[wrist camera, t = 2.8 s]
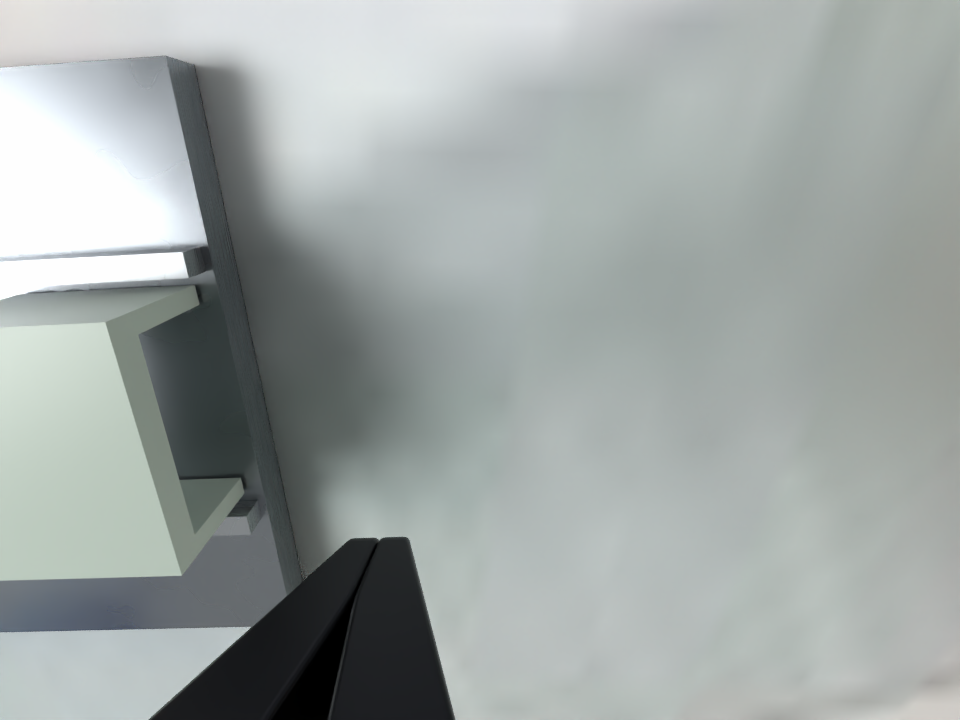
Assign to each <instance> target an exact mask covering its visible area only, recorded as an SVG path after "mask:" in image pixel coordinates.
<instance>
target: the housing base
mask: <svg viewBox="0 0 960 720" xmlns="http://www.w3.org/2000/svg"><path fill="white" fill-rule="evenodd" d="M185 285H195V288H196V292H197V296H198V300H199V305H198V306H196V307H194V308H192V309H190V310H188V311H186V312H184V313H182V314H180V315H177V316H175V317H173V318H171V319H169V320H167V321H165V322H163V323H161V324H159V325H157V326H155V327H153V328H151V329H149V330H147V331H145V332H143V333H141V334H139V335H138V336H139V340H140V343H141V347H142V350H143V354H144V357H145V361H146V364H147V368H148V371H149V375H150V378H151V382H152V385H153V389H154V393H155V396H156V400H157V403H158V407H159V410H160V414H161V417H162V421H163V424H164V428H165V431H166V435H167V438H168V442H169V445H170V449H171V452H172V456H173V460H174V463H175V467H176V470H177V474H178V477H179V480H191V479H219V478H241V481H242V485H243V489H244V494H243V496H242V497H241V498H240V500H239V501H238V502H237V503H236V505H235V506H234V507H233V509H232V510H231V511H230V513H229V514H228V515H227V517H226V518H225V519H224V521H223V522H222V523H221V525H220V526H219V527H218V529H217V530H216V531H215V533H214V534H213V535H212V537H211V538H210V539H209V541H208V542H207V543H206V545H205V546H204V547H203V549H202V550H201V551H200V552H199V554H198V555H197V556H196V558H195V559H194V560H193V562H192V563H191V564H190V566H189V567H188V568H187V570H186V571H185V572H184V574H183V575H182V576H155V577H118V578H81V579H44V580H7V581H0V632H33V631H77V630H122V629H166V628H210V627H252V626H254V625H255V624H256V623H257V622H258V621H259V620H260V619H261V618H262V617H264V616H265V615H266V614H267V613H268V612H269V611H270V610H271V609H273V608H274V607H275V606H276V605H277V604H278V603H279V602H280V601H281V600H283V599H284V598H285V597H286V596H287V595H288V594H289V593H290V592H292V591H293V590H294V589H295V588H296V587H297V586H298V585H299V584H300V583H302V582H303V581H302V576H301V572H300V567H299V562H298V557H297V553H296V548H295V543H294V538H293V534H292V529H291V524H290V519H289V514H288V510H287V505H286V500H285V495H284V491H283V486H282V481H281V476H280V472H279V467H278V462H277V457H276V453H275V448H274V443H273V438H272V434H271V429H270V424H269V419H268V414H267V410H266V405H265V400H264V395H263V391H262V386H261V381H260V376H259V372H258V367H257V362H256V357H255V353H254V348H253V343H252V338H251V333H250V329H249V324H248V319H247V314H246V310H245V305H244V300H243V295H242V291H241V286H240V281H239V276H238V272H237V267H236V262H235V257H234V253H233V248H232V243H231V238H230V233H229V229H228V224H227V219H226V214H225V210H224V205H223V200H222V195H221V191H220V186H219V181H218V176H217V172H216V167H215V162H214V157H213V153H212V148H211V143H210V138H209V133H208V129H207V124H206V119H205V114H204V110H203V105H202V100H201V95H200V91H199V86H198V81H197V76H196V72H195V67H194V65H193V64H190V63H187V62H184V61H180V60H177V59H174V58H171V57H168V56H156V57H142V58H128V59H114V60H100V61H86V62H72V63H58V64H44V65H30V66H16V67H2V68H0V300H1V299H4V298H8V297H11V296H15V295H18V294H31V293H51V292H70V291H89V290H108V289H128V288H147V287H166V286H185Z"/></svg>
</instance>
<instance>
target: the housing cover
mask: <svg viewBox="0 0 960 720" xmlns="http://www.w3.org/2000/svg"><path fill="white" fill-rule="evenodd" d="M198 305H199V300H198V296H197V292H196V288H195V285H185V286H166V287H147V288H128V289H108V290H89V291H70V292H51V293H31V294H18V295H15V296H11V297H8V298H4V299H1V300H0V581H7V580H44V579H81V578H118V577H155V576H182V575H183V574H184V572H185V571H186V570H187V568H188V567H189V566H190V564H191V563H192V562H193V560H194V559H195V558H196V556H197V555H198V554H199V552H200V551H201V550H202V549H203V547H204V546H205V545H206V543H207V542H208V541H209V539H210V538H211V537H212V535H213V534H214V533H215V531H216V530H217V529H218V527H219V526H220V525H221V523H222V522H223V521H224V519H225V518H226V517H227V515H228V514H229V513H230V511H231V510H232V509H233V507H234V506H235V505H236V503H237V502H238V501H239V500H240V498H241V497H242V496H243V494H244V489H243V485H242V481H241V478H219V479H191V480H179V477H178V474H177V470H176V467H175V463H174V460H173V456H172V452H171V449H170V445H169V442H168V438H167V435H166V431H165V428H164V424H163V421H162V417H161V414H160V410H159V407H158V403H157V400H156V396H155V393H154V389H153V385H152V382H151V378H150V375H149V371H148V368H147V364H146V361H145V357H144V354H143V350H142V347H141V343H140V340H139V336H138V335H139V334H141V333H143V332H145V331H147V330H149V329H151V328H153V327H155V326H157V325H159V324H161V323H163V322H165V321H167V320H169V319H171V318H173V317H175V316H177V315H180V314H182V313H184V312H186V311H188V310H190V309H192V308H194V307H196V306H198Z"/></svg>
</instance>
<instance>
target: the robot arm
mask: <svg viewBox="0 0 960 720" xmlns="http://www.w3.org/2000/svg"><path fill="white" fill-rule="evenodd" d="M149 720H455V717H454V713H453V709H452V705H451V701H450V697H449V693H448V689H447V685H446V681H445V678H444V674H443V670H442V666H441V662H440V658H439V654H438V650H437V646H436V642H435V638H434V635H433V631H432V627H431V623H430V619H429V615H428V611H427V607H426V603H425V599H424V595H423V591H422V588H421V584H420V580H419V576H418V572H417V568H416V564H415V560H414V556H413V552H412V548H411V545H410V541H409V539H408V538H407V537H385V538H382V539H380V541H379V540H378V539H377V538H354V539H350V540H349V541H347V542H346V543H345V544H344V545H343V546H342V547H341V548H339V549H338V550H337V551H336V552H335V553H334V554H333V555H332V556H331V557H329V558H328V559H327V560H326V561H325V562H324V563H323V564H322V565H321V566H319V567H318V568H317V569H316V570H315V571H314V572H313V573H312V574H310V575H309V576H308V577H307V578H306V579H305V580H304V581H303V582H302V583H300V584H299V585H298V586H297V587H296V588H295V589H294V590H293V591H292V592H290V593H289V594H288V595H287V596H286V597H285V598H284V599H283V600H281V601H280V602H279V603H278V604H277V605H276V606H275V607H274V608H273V609H271V610H270V611H269V612H268V613H267V614H266V615H265V616H264V617H262V618H261V619H260V620H259V621H258V622H257V623H256V624H255V625H254V626H252V627H251V628H250V629H249V630H248V631H247V632H246V633H245V634H244V635H242V636H241V637H240V638H239V639H238V640H237V641H236V642H235V643H233V644H232V645H231V646H230V647H229V648H228V649H227V650H226V651H225V652H223V653H222V654H221V655H220V656H219V657H218V658H217V659H216V660H215V661H213V662H212V663H211V664H210V665H209V666H208V667H207V668H206V669H204V670H203V671H202V672H201V673H200V674H199V675H198V676H197V677H196V678H194V679H193V680H192V681H191V682H190V683H189V684H188V685H187V686H186V687H184V688H183V689H182V690H181V691H180V692H179V693H178V694H177V695H175V696H174V697H173V698H172V699H171V700H170V701H169V702H168V703H167V704H165V705H164V706H163V707H162V708H161V709H160V710H159V711H158V712H157V713H155V714H154V715H153V716H152V717H151V718H150V719H149Z"/></svg>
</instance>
